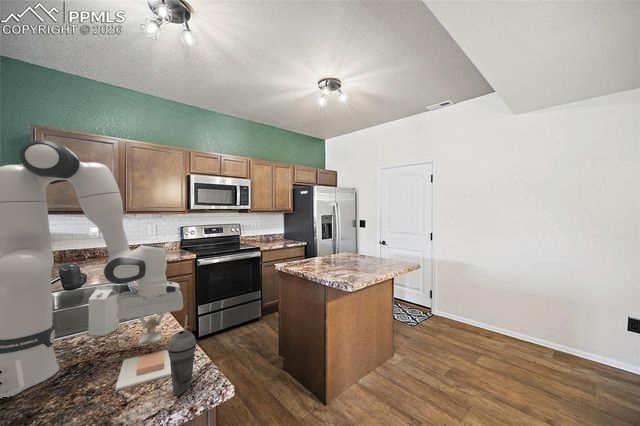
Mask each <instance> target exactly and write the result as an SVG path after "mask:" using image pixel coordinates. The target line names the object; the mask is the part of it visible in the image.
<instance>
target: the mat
mask: <svg viewBox="0 0 640 426" xmlns="http://www.w3.org/2000/svg"><path fill="white" fill-rule="evenodd" d="M139 356H140V355H139ZM139 356H138V355H137V356H134V357H130V358H126V359H123V361H122V365H121V367H120V372H119V374H118V378H117V381H116V385H115V390H114V391H120V390H123V389H127V388H130V387H135V386H137V385H141V384H145V383H148V382H152V381H156V380H158V379H163V378H167V377H169V376H170V377H171V365H170V358H169V354H168V349H164V368H163V369H160V370H156V371H152V372H149V373H145V374H141V375H137V365H138V359H139Z"/></svg>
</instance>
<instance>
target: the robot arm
mask: <svg viewBox="0 0 640 426" xmlns="http://www.w3.org/2000/svg"><path fill="white" fill-rule="evenodd" d="M19 160H20V163H21V164H7V165H6V164H5V165H2V166H0V398H1V399H3V398H2V397H7V398H10V396H11V397H13V396H16V395H17V394H19V393H21V392H23V391H25V390H26V389H28V388H29V389H30V388H31V387H34V386H36V385H38V384H40V383H42V382H44V381H47V380H48V379H49V378H51V377H53V376H54V375H56V373H58V372H59V370H60V366H59V363H58V361H57V358H56V353H55V350H54V349H55V348H54V343H55V341H56V340H55V337H56V331H55V325H54V324H53V293H52V292H53V291H52V270H53V267H54V263H55V261H54V260H55V259H54V258H55V257H54V252H53V244H52V236H51V230H50V222H49V209H48V202H47V186H48V185H55V184H57V183H58V184H59V183H64V182H69V183H70V184H72V186H73V188H74V190H75V192H76V193H75V194H76V196H77V199H78V203H79V205H80V209H81V210H82V213H84V215H85V217H86V218H87V219H88V221H89V222H91V223H92V224H94V225H95V226H96V227H97V228H98V229H99V231H100V233H101V235H102V237H103V239H104V242H105V246H106V249H107V252H108V260H107V263H106V265H105V266H104V270H103V275H104V277H105V280H107V281H108V282H110V283H112V284H114V285H123V284H127V283H131V282H135V281H137V289H135V290H129V291H127V290H126V291H122V292H121V293H119V295H118V296H117V304H118V305H119V306H118V311H117V318H118V319H119V321H122V320H128V319H134V318H139V321H140V322H141V323H142V329H146V328H147V326H148V320H147V321H145V317H146V316H152V315H158V314H159V318H158V319H156V327H157V326H161V321H162V320H163V318H164V315H165V313H166V314H167V313H172V312H178V311H182V309H183V308H184V301H183V300H184V299H183V293H182V291H181V290H180V288H181V287H180V284H179V283H178V282H174V281H168V280H167V276H166V270H167V267H168V263H167V261H168V260H167V251H166V249H165V248H164V247H163V246H162V245H157V244H154V243H153V244H152V243H148V244H147V243H143V244H141V245H140V246H139V247H137V248H135V249H133V250H132V249H131V247H130V245H129V242H128V239H127V236H126V233H125V230H124V225H123V224H124V221H123V220H124V217H123V216H124V206H123V199H122V195H121V191H120V188H119V185H118V184H117V181H116V179H115V177H114V175H113V172H112V171H111V169H110V168H109V167H108V166H107V165H106V164H103V163H100V162H93V161H92V162H90V161H89V162H83V161H82V160H81V159H80V157H79V156H78V155H77V154H76V153H74V152H73V150H71V149H70V148H68V147H66V146H64V145H62V144H60V143H58V142H55V141H52V140H48V139H47V140H46V139H36V140H31V141H29V142H27V143H25V144H24V145H23V146H22V147H21V149H20V151H19Z"/></svg>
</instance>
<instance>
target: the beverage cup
mask: <svg viewBox="0 0 640 426" xmlns="http://www.w3.org/2000/svg"><path fill="white" fill-rule="evenodd" d="M188 317H189V315H185V319H184V320H185V321H184V328H183V330H180V331H178V332H176V333H175V334H174V335H173V336H172V337H171V338H170V340H169V342H168V346H167V350H168V354H169V358H170V365H171V375H170V377H171V384H172V388H173V389H172V390H173V392H175V393H183V392H185V391H187V390H189V389H190V388H191V386H192V380H193V370H194V362H195V351H196V348H197V347H196V346H197V341H196V337H195V335H194V334H193V333H192V332H191V331H189V330H187V326H188Z"/></svg>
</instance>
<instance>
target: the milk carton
mask: <svg viewBox="0 0 640 426" xmlns="http://www.w3.org/2000/svg"><path fill="white" fill-rule="evenodd" d="M113 288H114V286H96V287H95V290H94V291H93V293H92V294H91V296H89V298H88V336H90V337H93V336H94V337H105V336H107V335H109V334H112V333H113V332H115V331H117V330H119V329H120V320H119V319H118V318H117V311H118V306H119V305H118V304H117V296H118V295H119V294H120V293H119V292H117V291H116V290H114V289H113ZM118 328H119V329H118ZM116 329H117V330H116Z"/></svg>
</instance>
